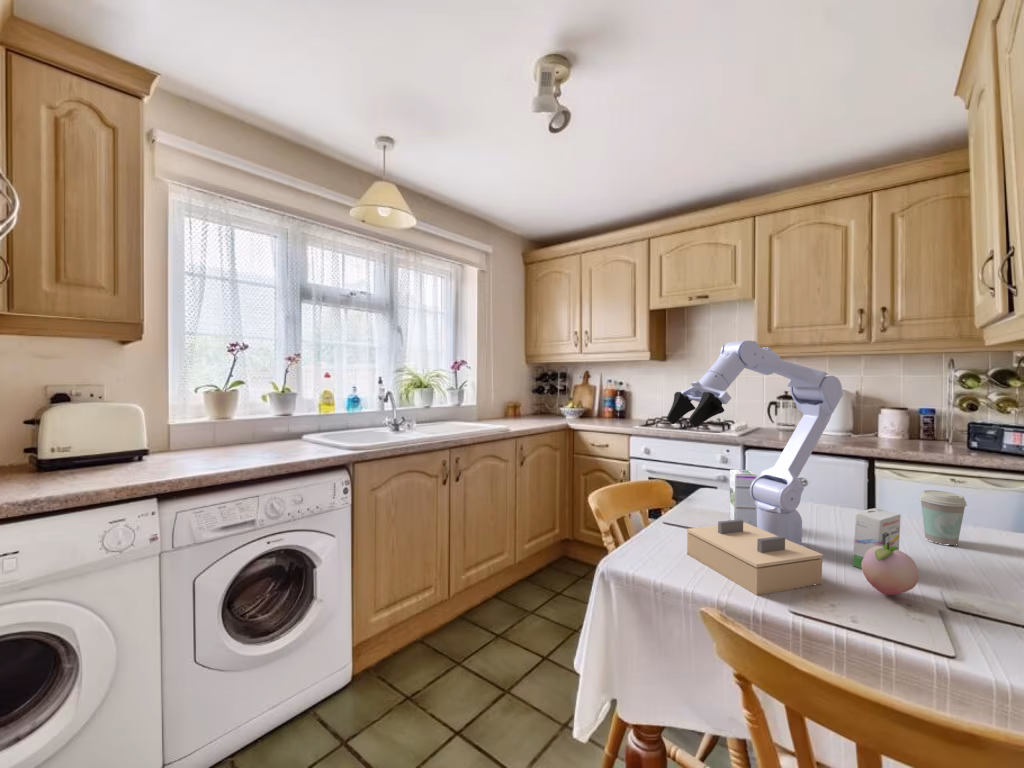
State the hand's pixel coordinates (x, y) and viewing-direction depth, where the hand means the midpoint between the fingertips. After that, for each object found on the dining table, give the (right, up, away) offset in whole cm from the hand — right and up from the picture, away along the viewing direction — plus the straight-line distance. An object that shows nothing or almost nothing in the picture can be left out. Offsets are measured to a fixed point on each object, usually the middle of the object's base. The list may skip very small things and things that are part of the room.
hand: (680, 422), depth 101 cm
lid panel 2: (+15, -26, -9) cm, 31 cm away
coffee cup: (+69, -31, +12) cm, 77 cm away
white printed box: (+27, -30, +25) cm, 48 cm away
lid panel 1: (+12, -25, +1) cm, 28 cm away
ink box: (+41, -31, -3) cm, 52 cm away
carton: (+13, -31, -4) cm, 34 cm away
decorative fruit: (+34, -31, -16) cm, 49 cm away
